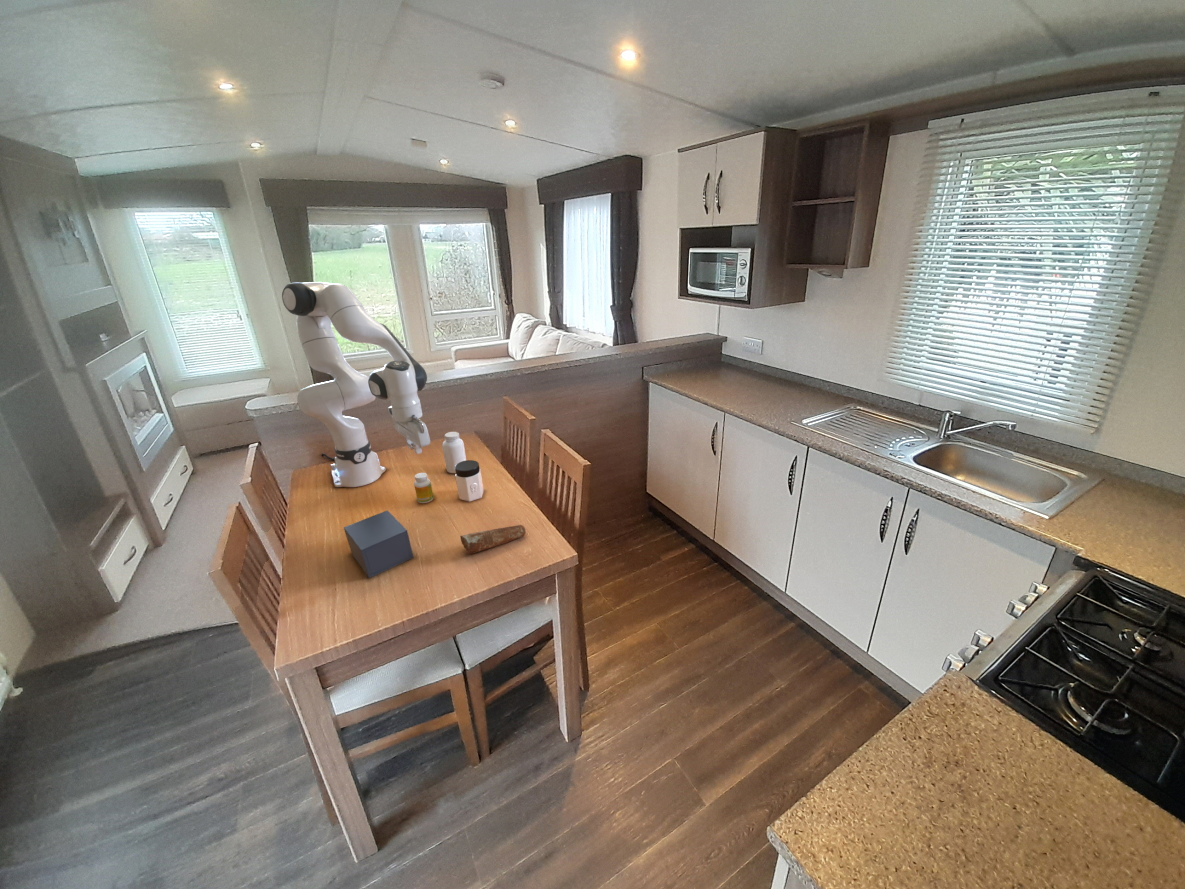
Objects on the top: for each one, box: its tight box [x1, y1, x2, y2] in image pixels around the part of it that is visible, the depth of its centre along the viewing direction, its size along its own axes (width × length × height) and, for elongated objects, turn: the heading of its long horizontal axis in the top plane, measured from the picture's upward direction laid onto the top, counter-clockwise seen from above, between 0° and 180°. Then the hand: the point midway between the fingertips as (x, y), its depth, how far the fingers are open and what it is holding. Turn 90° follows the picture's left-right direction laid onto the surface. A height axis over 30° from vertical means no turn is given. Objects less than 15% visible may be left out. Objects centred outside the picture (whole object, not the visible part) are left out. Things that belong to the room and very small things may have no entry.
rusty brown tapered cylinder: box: [459, 524, 527, 555], centre depth 141 cm, size 6×19×6 cm, turn 115°
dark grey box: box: [343, 509, 414, 579], centre depth 137 cm, size 15×13×10 cm
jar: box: [454, 459, 484, 503], centre depth 166 cm, size 9×8×12 cm
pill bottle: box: [441, 431, 467, 474], centre depth 184 cm, size 8×8×15 cm
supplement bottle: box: [413, 472, 434, 504], centre depth 165 cm, size 5×5×10 cm
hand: (415, 450), depth 159 cm, fingers open, 4 cm apart
